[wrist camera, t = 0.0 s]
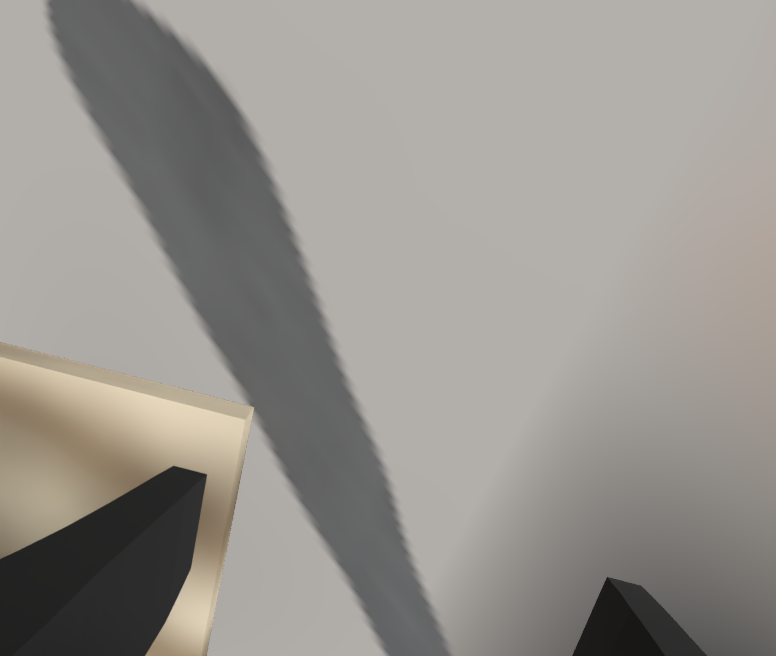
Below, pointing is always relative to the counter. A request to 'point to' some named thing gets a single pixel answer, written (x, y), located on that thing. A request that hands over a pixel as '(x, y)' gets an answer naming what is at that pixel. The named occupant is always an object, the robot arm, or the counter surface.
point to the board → (116, 464)
